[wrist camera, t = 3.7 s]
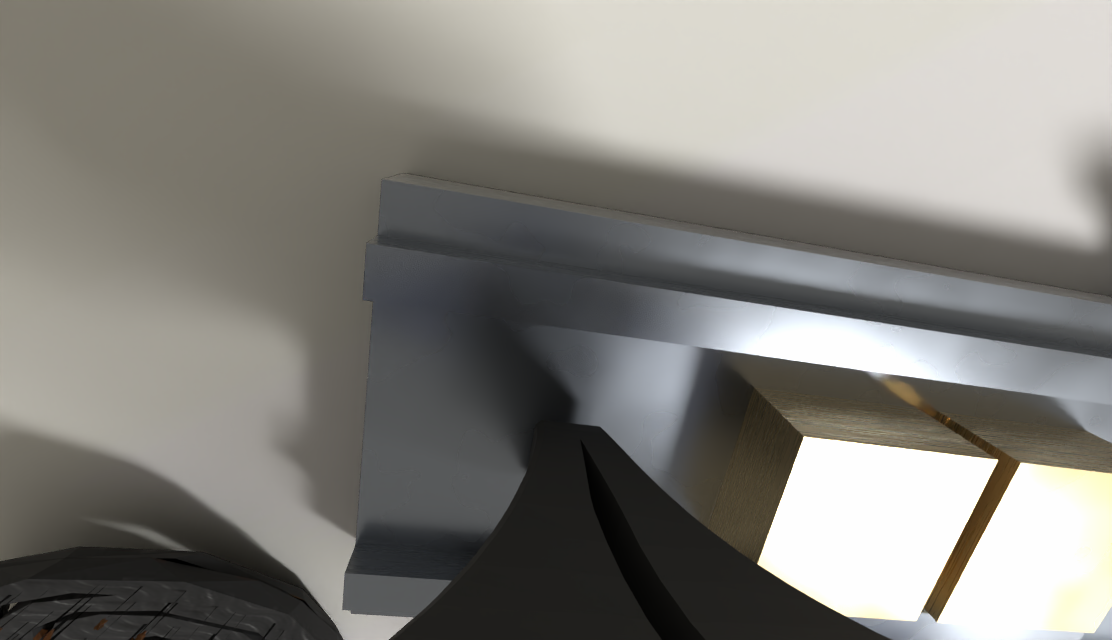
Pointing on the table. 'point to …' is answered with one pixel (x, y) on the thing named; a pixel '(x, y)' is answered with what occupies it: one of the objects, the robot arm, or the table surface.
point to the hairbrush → (151, 599)
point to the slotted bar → (660, 362)
